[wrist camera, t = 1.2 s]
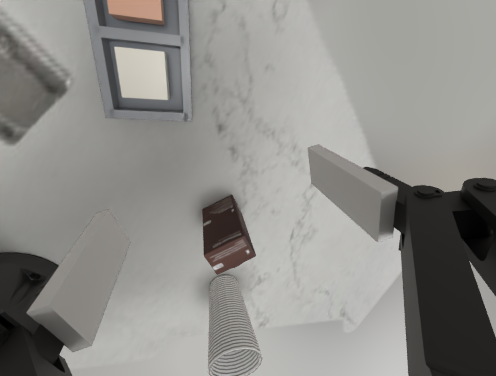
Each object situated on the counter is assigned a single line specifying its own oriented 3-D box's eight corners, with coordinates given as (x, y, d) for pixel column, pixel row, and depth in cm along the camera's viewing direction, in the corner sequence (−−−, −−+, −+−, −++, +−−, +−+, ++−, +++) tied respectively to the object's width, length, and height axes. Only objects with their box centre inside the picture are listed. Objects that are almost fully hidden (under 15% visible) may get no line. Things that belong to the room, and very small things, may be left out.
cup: (195, 290, 47) (196, 376, 34) (221, 263, 45) (233, 343, 32) (226, 303, 51) (238, 385, 37) (251, 278, 49) (273, 355, 36)
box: (231, 192, 39) (245, 235, 28) (241, 211, 41) (258, 258, 31) (199, 207, 39) (202, 256, 28) (211, 226, 41) (218, 277, 31)
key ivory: (127, 95, 27) (121, 97, 25) (121, 49, 25) (114, 46, 23) (169, 98, 28) (167, 100, 26) (166, 53, 26) (164, 51, 24)
